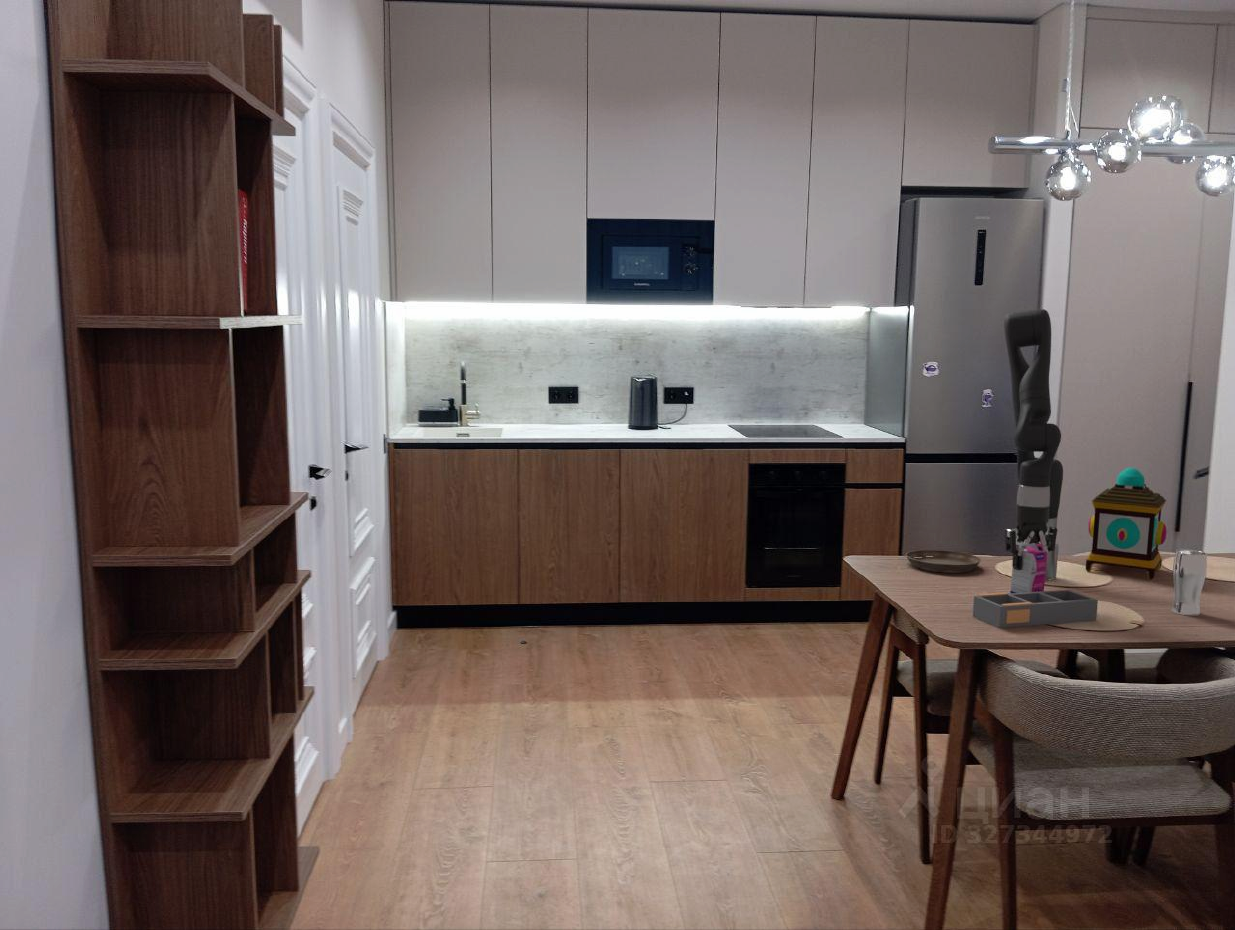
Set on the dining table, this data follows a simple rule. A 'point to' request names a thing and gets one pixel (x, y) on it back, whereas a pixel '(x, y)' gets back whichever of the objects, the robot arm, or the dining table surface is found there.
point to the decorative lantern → (1127, 525)
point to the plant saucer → (943, 561)
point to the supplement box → (1030, 572)
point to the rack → (1034, 608)
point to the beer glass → (1188, 581)
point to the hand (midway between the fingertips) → (1028, 568)
